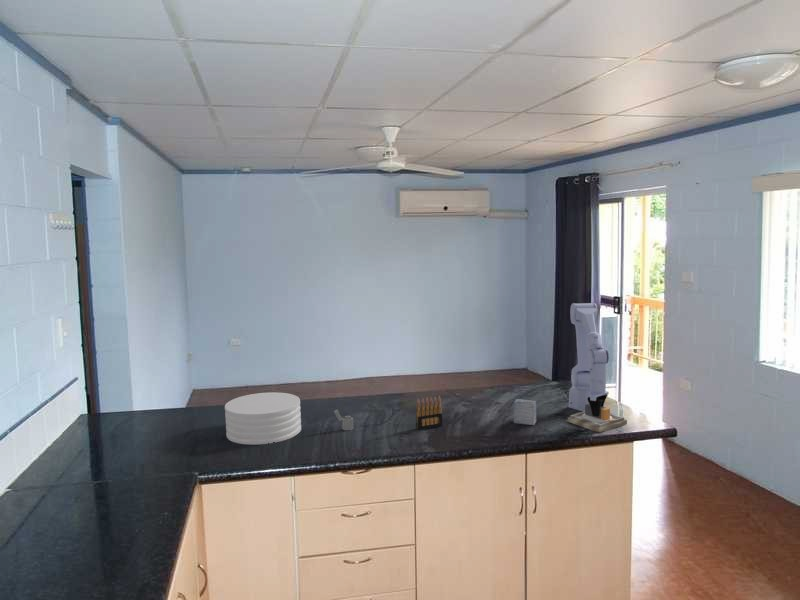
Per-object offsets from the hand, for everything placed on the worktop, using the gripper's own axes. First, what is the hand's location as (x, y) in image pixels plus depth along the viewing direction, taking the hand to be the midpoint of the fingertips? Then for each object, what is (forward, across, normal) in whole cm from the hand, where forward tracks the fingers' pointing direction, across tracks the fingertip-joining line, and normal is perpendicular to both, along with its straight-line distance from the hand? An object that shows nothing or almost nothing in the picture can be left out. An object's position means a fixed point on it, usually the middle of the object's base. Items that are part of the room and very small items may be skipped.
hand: (597, 414), depth 225 cm
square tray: (+3, 0, 0) cm, 3 cm away
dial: (+2, 0, 0) cm, 2 cm away
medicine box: (+4, -13, +24) cm, 28 cm away
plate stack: (+4, -69, +108) cm, 128 cm away
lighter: (+4, -53, +82) cm, 98 cm away
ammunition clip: (+4, -35, +54) cm, 65 cm away
